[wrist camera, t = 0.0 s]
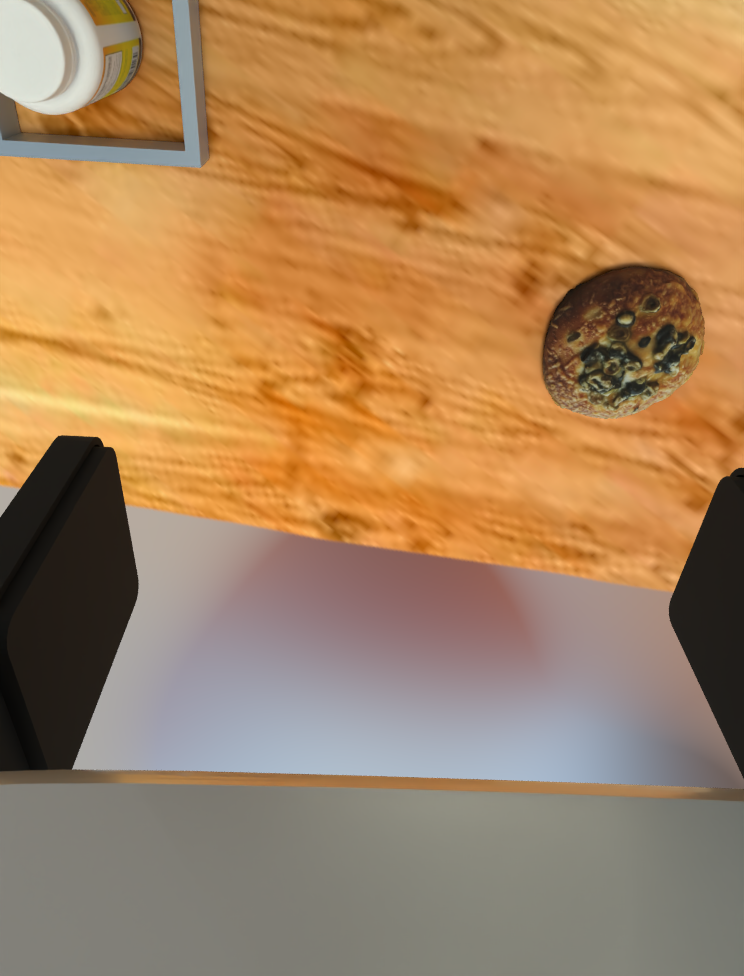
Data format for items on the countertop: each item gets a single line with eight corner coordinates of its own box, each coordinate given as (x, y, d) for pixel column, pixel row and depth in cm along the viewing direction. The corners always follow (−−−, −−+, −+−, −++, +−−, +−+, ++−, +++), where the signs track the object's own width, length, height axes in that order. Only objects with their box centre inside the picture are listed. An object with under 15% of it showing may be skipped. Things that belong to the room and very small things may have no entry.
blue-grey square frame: (-46, -111, 35) (-72, -117, 33) (191, -94, 35) (180, -99, 33) (9, 146, 42) (-9, 155, 40) (209, 158, 42) (201, 167, 40)
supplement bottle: (26, -26, 37) (-74, -29, 29) (133, -29, 37) (63, -34, 29) (56, 96, 40) (-26, 125, 32) (154, 93, 40) (97, 121, 32)
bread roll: (602, 230, 44) (633, 263, 41) (727, 297, 49) (765, 334, 45) (503, 371, 51) (522, 411, 47) (622, 421, 55) (648, 461, 51)
